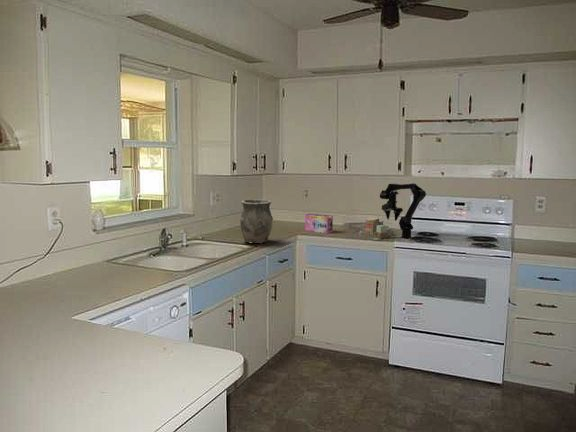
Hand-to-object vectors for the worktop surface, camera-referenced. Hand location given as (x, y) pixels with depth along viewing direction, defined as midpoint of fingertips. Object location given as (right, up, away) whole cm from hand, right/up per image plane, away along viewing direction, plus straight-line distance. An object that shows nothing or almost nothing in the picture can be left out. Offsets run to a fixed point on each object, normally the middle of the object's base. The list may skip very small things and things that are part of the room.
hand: (391, 220), depth 367 cm
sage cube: (-10, -9, -8) cm, 16 cm away
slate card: (-15, -14, -17) cm, 27 cm away
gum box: (-55, -10, +20) cm, 59 cm away
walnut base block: (-10, -13, -8) cm, 18 cm away
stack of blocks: (-11, -11, +11) cm, 19 cm away
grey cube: (-3, -12, +3) cm, 13 cm away
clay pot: (-103, -16, -27) cm, 107 cm away
